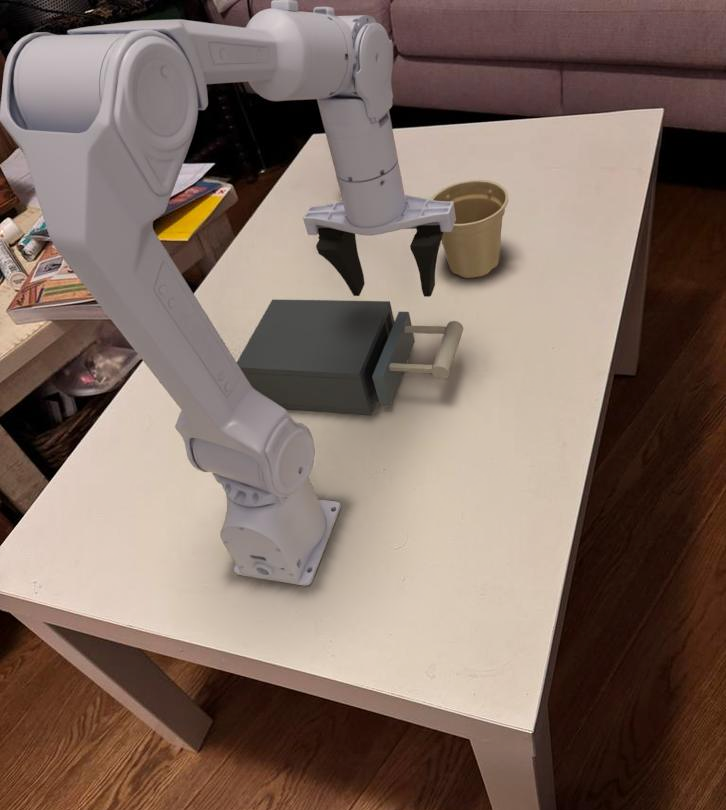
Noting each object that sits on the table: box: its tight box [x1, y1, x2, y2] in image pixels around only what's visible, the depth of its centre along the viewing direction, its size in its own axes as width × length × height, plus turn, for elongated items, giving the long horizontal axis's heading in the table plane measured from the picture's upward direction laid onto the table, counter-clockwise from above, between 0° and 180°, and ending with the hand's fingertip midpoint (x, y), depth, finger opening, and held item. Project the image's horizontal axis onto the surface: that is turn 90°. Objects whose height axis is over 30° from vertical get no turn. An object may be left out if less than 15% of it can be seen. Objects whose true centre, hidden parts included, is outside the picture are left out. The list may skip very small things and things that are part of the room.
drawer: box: [363, 311, 464, 407], centre depth 81 cm, size 20×10×5 cm, turn 73°
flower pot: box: [430, 179, 509, 279], centre depth 90 cm, size 9×9×9 cm
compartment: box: [236, 298, 395, 416], centre depth 84 cm, size 15×12×6 cm
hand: (393, 290), depth 77 cm, fingers open, 7 cm apart
